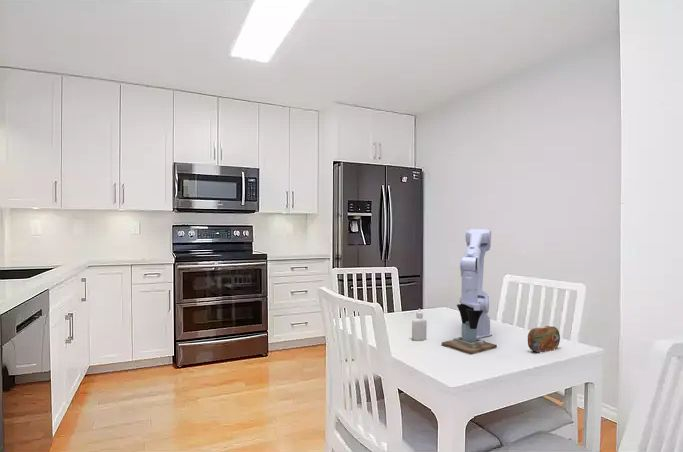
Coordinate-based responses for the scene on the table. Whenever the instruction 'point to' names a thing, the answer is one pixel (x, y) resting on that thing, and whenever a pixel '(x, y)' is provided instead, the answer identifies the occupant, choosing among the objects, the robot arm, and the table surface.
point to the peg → (468, 333)
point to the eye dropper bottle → (419, 327)
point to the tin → (543, 339)
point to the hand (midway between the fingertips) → (469, 326)
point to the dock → (469, 345)
